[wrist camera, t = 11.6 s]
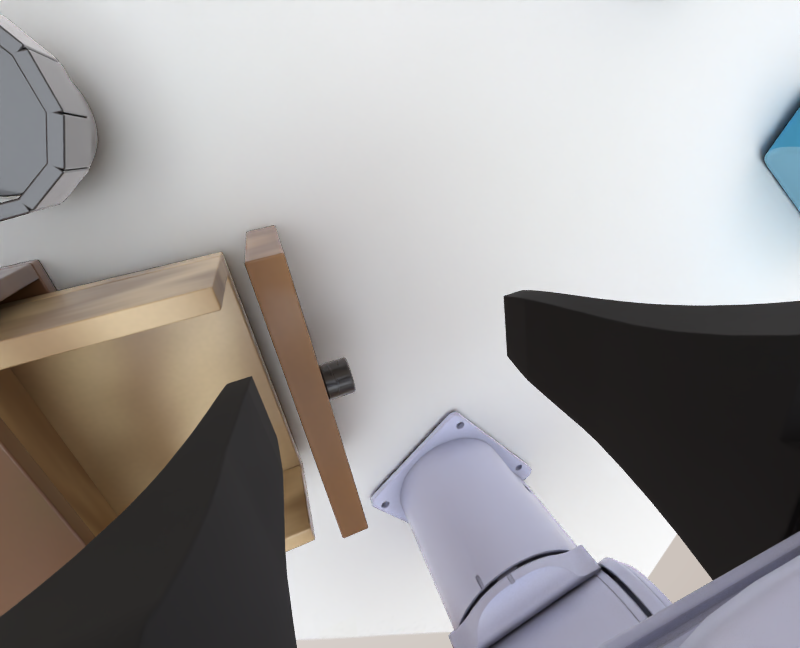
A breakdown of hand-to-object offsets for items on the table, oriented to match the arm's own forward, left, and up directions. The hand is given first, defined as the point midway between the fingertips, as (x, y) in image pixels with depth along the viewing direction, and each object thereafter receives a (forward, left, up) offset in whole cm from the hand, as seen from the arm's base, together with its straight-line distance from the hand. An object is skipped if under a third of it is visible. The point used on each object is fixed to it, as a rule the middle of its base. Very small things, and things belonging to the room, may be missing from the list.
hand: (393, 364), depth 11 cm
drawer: (+1, +8, -8) cm, 12 cm away
